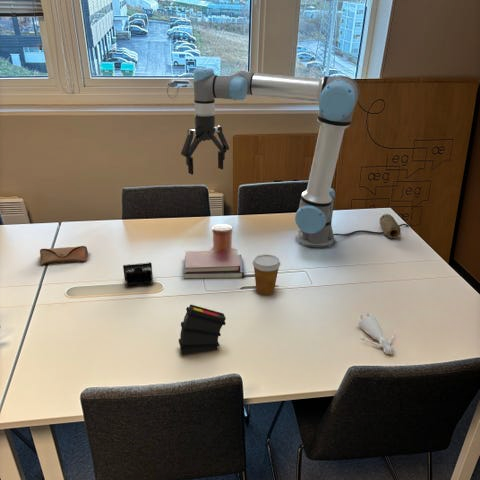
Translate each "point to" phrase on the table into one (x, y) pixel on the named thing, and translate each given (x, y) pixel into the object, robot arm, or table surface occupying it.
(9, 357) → the table surface
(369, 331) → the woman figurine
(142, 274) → the end cap
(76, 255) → the sunglasses case
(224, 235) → the terracotta pot
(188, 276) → the navy book
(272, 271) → the disposable coffee cup
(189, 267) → the burgundy book
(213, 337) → the magazine
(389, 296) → the table surface
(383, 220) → the stone weight
